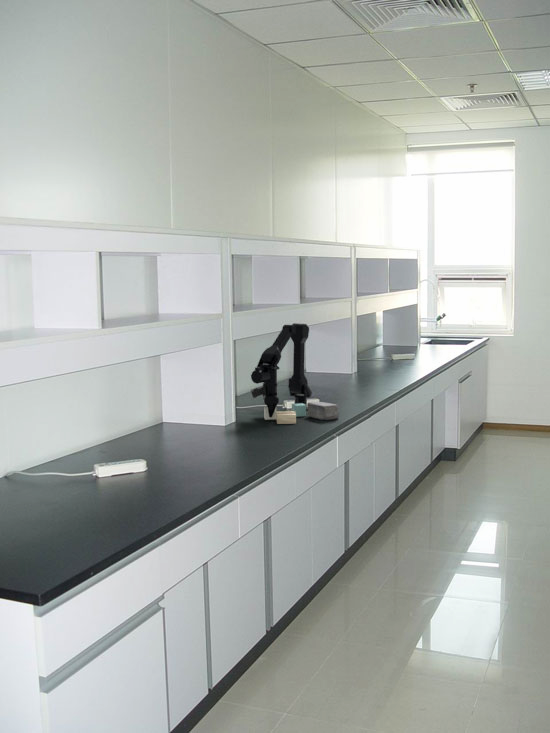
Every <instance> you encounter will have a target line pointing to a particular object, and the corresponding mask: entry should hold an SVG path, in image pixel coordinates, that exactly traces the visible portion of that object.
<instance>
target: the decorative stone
mask: <svg viewBox="0 0 550 733" xmlns="http://www.w3.org/2000/svg"><path fill="white" fill-rule="evenodd" d="M307 408H308V410H307V412H308V416H309V418H312V419H316V420H320V421H334V420H338V419H339V417H340V411H339V406H338V404H335V403H329V402H325V401H324V402H322V401H308V402H307Z"/></svg>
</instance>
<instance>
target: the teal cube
mask: <svg viewBox="0 0 550 733" xmlns="http://www.w3.org/2000/svg"><path fill="white" fill-rule="evenodd" d="M291 411H295V413H296V418H298V417H306V416H307V410H306V405H305V404H303V403H297V404H294V403H291Z"/></svg>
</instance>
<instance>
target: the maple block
mask: <svg viewBox="0 0 550 733" xmlns="http://www.w3.org/2000/svg"><path fill="white" fill-rule="evenodd" d="M276 424H277V425H278V424H280V425H281V424H284V425H285V424H286V425H287V424H289V425H290V424H291V425H292V424H295V425H296V424H297V417H296V413H295V411H292V410H286V411H282V410H281V411H280V410H279V411H277V410H276Z"/></svg>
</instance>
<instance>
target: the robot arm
mask: <svg viewBox="0 0 550 733" xmlns="http://www.w3.org/2000/svg"><path fill="white" fill-rule="evenodd" d="M309 333H310V327H309V326H308V324H307V323H297V322H296V323H292V324H284V325H283V326H282V328H281V331H280V332H279V334H278V335H277V337H276V338H275V340H274V342H273V343H272V344H271V346H268V347H267V348H266V349H265V350H264V351H263V352H262V354H261V355H260V358H259V361H258V362H257V365H256V367H254V370H253V371H252V372H251V374H250V379H251V382H253V383H254V384H256V385H257V384H262V385H260V386H257V387H255V388H252V389H250V393H251V396H252V398H253V399H255V398H257V397H259V396H261V397H262V400H263V404H264V405H265V406H267V407H268V412H269V417H272V416H273V413H274V411H275V408H276V409H277V406H278V404H279V403H280V402H279V401H280V399H279V397H278V370H280V367H279V366H278V364H279V363H280V361H281V359H282V352H283V350H284V349H285V347H286V345H287V343H288V342H289V340H290V339H291V340H292V342H293V359H292V360H293V362H292V363H293V366H292V370H293V371H292V376H291V378H289V379H288V387H287V388H288V391H289V396H290V397H294V402H293V404H297V403H303V404H305V405H306V411H308V407H307V404H308V402H307V401H308V399H309V398H311V397H312V393H313V392H312V391H311V389H310V387H309V385H308V384H309V383H308V379H307V377H306V376H305V350H306V349H305V344H306V342H307V340H308V338H309Z"/></svg>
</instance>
